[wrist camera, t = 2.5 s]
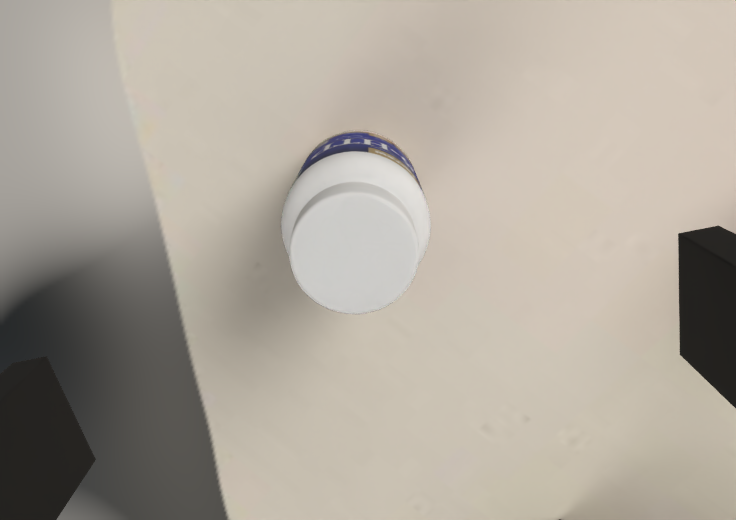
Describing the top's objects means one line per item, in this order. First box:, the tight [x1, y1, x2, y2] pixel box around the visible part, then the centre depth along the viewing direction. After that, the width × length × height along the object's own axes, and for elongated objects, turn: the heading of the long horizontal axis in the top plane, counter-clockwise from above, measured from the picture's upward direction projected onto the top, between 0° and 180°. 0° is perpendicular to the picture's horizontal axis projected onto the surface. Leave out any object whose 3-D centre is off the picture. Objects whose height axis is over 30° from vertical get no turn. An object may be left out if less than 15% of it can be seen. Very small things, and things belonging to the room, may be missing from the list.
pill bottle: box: [281, 130, 431, 314], centre depth 21 cm, size 5×5×9 cm
